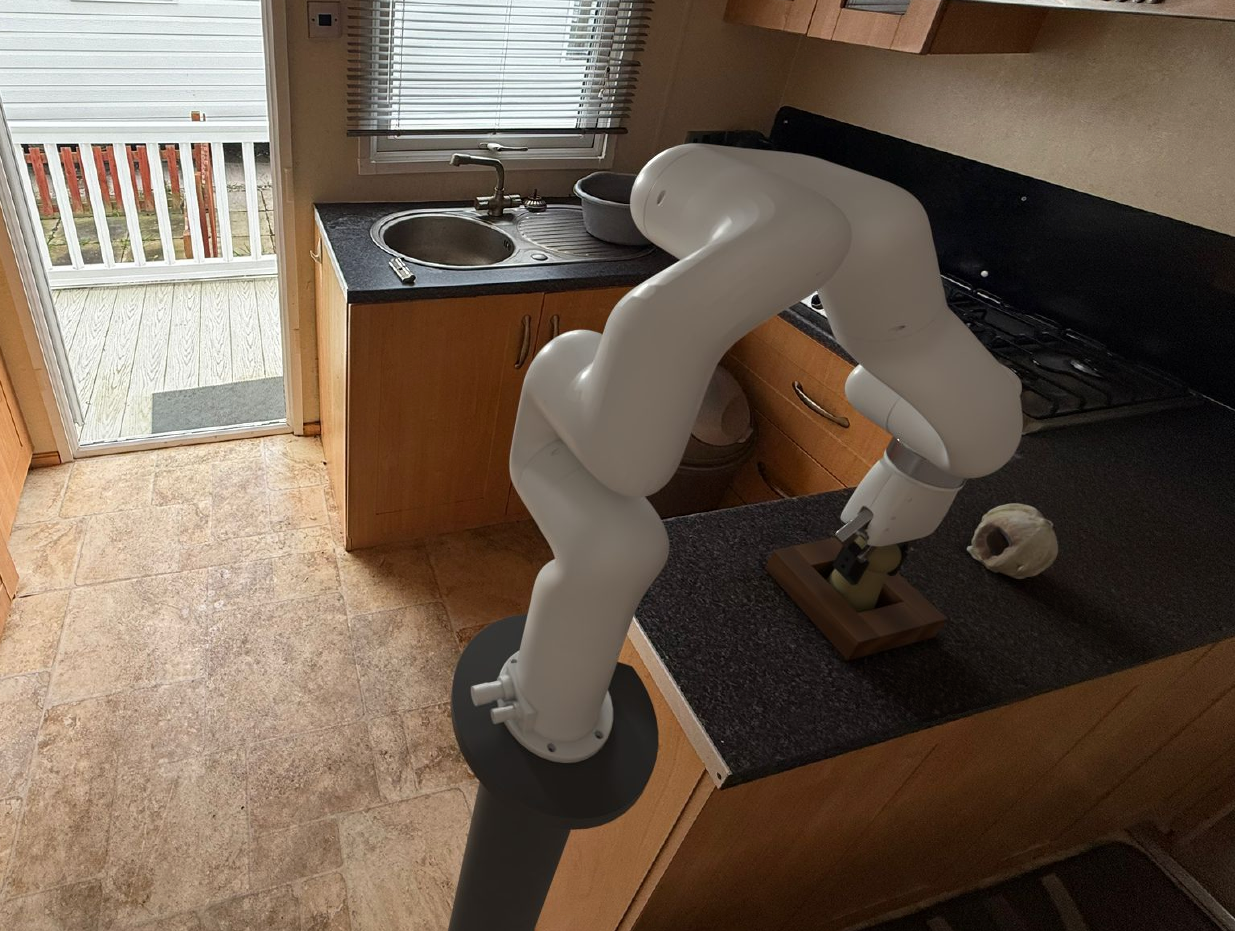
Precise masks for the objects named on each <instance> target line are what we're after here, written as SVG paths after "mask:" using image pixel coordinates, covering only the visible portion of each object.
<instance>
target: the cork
mask: <svg viewBox="0 0 1235 931" xmlns="http://www.w3.org/2000/svg"><path fill="white" fill-rule="evenodd" d="M866 531H867V529H866ZM855 542H856V543H857V544H858V545H859V546H860V547H861V549H863V548H864V547H865V546H866V545H867V542H866V541H865V540H864V539H863V538H862V537H861V536H859V537H858V538H857V539H856V541H855ZM900 560H901V552H900V549H899V547H898V545H897V544H891V545H886V546H879V547H877V548H876V550H875V551H874V552H873V553H872V554H871V555H870V557H869V558H868V559H867V561H868V562H869V565H868V567H867V568H866V570H865V572H864V574H863V575H862V577H861V579H860V580H859V582H858V584H856V585H851V584H850V583H849V582H848V581H847V580H846V579H845V578H844V577H843V576H842V575H841V574H840V573H839V572H838V571H837V570H836V569H834V571H833V572H832V573H831V574H830V575H829V576H828V578H825V580H826V581H827V582H828V583H829V584H830V585H831V586H832V587H833V588H834V589H835V590H836V591H837V592H838V593H839V594H840V596H841V597H842V598H843V599H844V600H845V601H846V602H847V603H848V604H849V605H850V606H851V607H852V608H853V609H854V610H855V611H856V612H857V613H861V612H865V611H869V610H873V609H876V606H877V604H876V602H877V600H878V597H879V594H880V591H881V588H882V586H883V583H884V580H885V577H886V574H887V572H891V571H892V570H894V569H895V568H896V567H897V566H898V565H899V563H900Z"/></svg>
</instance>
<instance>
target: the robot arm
mask: <svg viewBox="0 0 1235 931" xmlns="http://www.w3.org/2000/svg"><path fill="white" fill-rule="evenodd" d="M629 201H630V202H629V209H630V213H631V218H632V220H633V222H634V224H635V226H636V228H637V229H638V230H639V232H640V233H641V234H642V236H644V237H645V238H646V239H648V240H649V241H650V242H651V243H653V244H654V245H655V246H657V247H659V248H661V249H662V250H664V251H665V252H667V253H668V254H670V255H671V256H673V257H675V258H676V259H678V261H677V262H675V263H673V264H672V265H670V266H668V267H667V268H665V269H663V270H662V271H659V272H658V273H656V274H654V275H653V276H651V277H650V278H648V279H646V280H645V281H643V282H641V283H640V284H639V285H637V286H635V287H634V288H633V289H631V290H630V291H629V292H627V293H626V294H625V295H623V297H622V298H621V299H620V300H619V301H617V304H615V306H614V308H613V309H612V310H611V312H610V315H609V316H608V318H607V319H606V320H607V321H606V324H605V326H604V328H603V331H602V332H603V333H600V332H597V331H594V330H588V329H575V330H570V331H566V332H563V333H562V334H560V335H558V336H555V337H554V338H553V339H551V340H550V341H549V342H548V343H546V344H545V345H544V346H543V347H542V348H541V350H539V352H538V353H537V354H536V356H535V357H534V358H533V360H532V362H531V363H530V365H529V366H528V369H527V371H526V374H525V377H524V379H523V383H522V388H521V392H520V398H519V403H518V408H517V413H516V417H515V418H516V419H515V424H514V428H513V435H512V441H511V446H510V452H509V475H510V479H511V483H512V485H513V487H514V489H515V491H516V492H517V494H518V497H519V498H520V499H521V501H522V503H523V504H524V506H525V508H526V509H527V510H528V512H529V514H530V515H531V517H532V518H533V520H534V522H535V523H536V525H537V526H538V529H539V530H540V532H541V534H542V535H543V537H544V538H545V539H546V541H547V543H548V545H549V547H550V548H551V551H552V553H553V556H554V559H552V560H550V561H548V562H547V563H546V564H545V565H544V566H543V567H542V568H541V569H540V570H539V572H538V574H537V576H536V579H535V581H534V584H533V589H532V592H531V598H530V603H529V606H528V607H529V608H528V612H527V614H528V616H527V620H526V625H525V629H524V633H523V638H522V642H521V646H520V651H518V652H516V653H515V654H514V655H512V656H511V657H510V658H509V659H508V660H507V662H506V663H505V664H504V666H503V668H502V670H501V672H500V675H499V677H498V678H497V681H495V682H490V683H483V684H479V685H475V686H471V696H472V700H473V703H474V705H475V706H479V705H483V704H488V703H491V702H492V701H495V700H497V703H498V708H494V709H491V718H492V721H493V723H494V724H497V723H501V722H504V723H505V725H506V726H507V728H508V730H509V731H510V733H511V734H512V735H513V736H514V737H515V738H516V740H517V741H518V742H519V743H520V744H522V745H523V746H524V747H525V748H527V749H528V750H529V751H531V752H532V753H534V754H536V755H538V756H540V757H542V758H545V759H548V760H550V761H554V762H561V763H573V762H579V761H582V760H586V759H588V758H589V757H591V756H593V755H595V754H596V753H597V752H598V751H599V750H600V749H601V748H602V747H603V746H604V744H605V742H606V741H607V739H608V737H609V734H610V731H611V728H612V723H613V705H612V700H611V697H610V694H609V691H608V688H609V685H610V682H611V679H612V676H613V673H614V670H615V668H616V665H617V662H619V659H620V656H621V653H622V650H623V647H624V645H625V641H626V639H627V636H628V634H629V630H630V628H631V624H632V622H633V619H634V616H635V614H636V612H637V610H638V608H639V605H640V603H641V601H642V599H643V598H644V596H645V594H646V593H647V592H648V590H649V588H650V587H651V586H652V585H653V583H654V582H655V580H656V579H657V578H658V576H659V575H660V574H661V572H662V570H663V569H664V567H665V565H666V563H667V561H668V558H669V554H670V539H669V534H668V532H667V529H666V526H665V524H664V522H663V521H662V519H661V517H660V515H659V514H658V512H657V511H656V509H655V508H654V506H653V505H652V504H651V502H650V501H649V499H648V498H646V497H649V496H652V495H654V494H656V493H658V492H659V491H660V490H661V489H663V488H664V487H665V486H667V485H668V483H669V482H670V481H671V479H672V478H673V476H674V475H675V473H676V472H677V471H678V468H679V466H680V464H681V462H682V459H683V457H684V455H685V450H686V448H687V446H688V443H689V440H690V437H691V436H692V431H693V430H694V426H695V424H696V420H697V419H698V416H699V412H700V409H701V406H702V404H703V402H704V398H705V396H706V393H707V390H708V388H709V385H710V383H711V380H712V378H713V375H714V373H715V371H716V369H717V366H718V364H719V363H720V361H721V360H722V358H723V357H724V355H725V354H726V353H727V352H728V351H729V350H730V349H731V348H732V347H733V346H734V345H735V344H736V343H737V342H739V341H740V340H741V339H742V338H743V337H745V336H746V335H748V334H749V333H750V332H752V331H753V330H754V329H756V328H758V327H759V326H761V325H763V324H765V323H766V322H767V321H769V320H771V319H773V318H774V317H775V316H777V315H779V314H780V313H782V312H784V311H786V310H788V309H789V308H792V307H793V306H795V305H796V304H798V303H800V302H802V301H804V300H805V299H807V298H809V297H810V296H811V295H813V294H815V293H816V294H817V296H818V298H819V301H820V303H821V306H822V308H823V311H824V314H825V316H826V319H827V321H828V324H829V326H830V329H831V332H832V335H833V337H834V338H835V339H836V341H837V343H838V345H839V346H840V347H841V348H842V349H843V350H844V351H845V352H846V353H848V355H849V356H850V357H852V359H853V360H855V362H857V363H858V365H857V366H855V367H854V369H852V371H851V372H850V373H849V375H848V376H847V378H846V380H845V385H844V394H845V397H846V400H847V401H848V403H849V404H850V405H851V407H852V408H853V409H854V410H855V411H856V412H858V414H860V415H861V416H863V417H864V418H865V419H866V420H868V421H870V422H871V423H873V424H874V425H876V426H877V427H879V428H880V429H882V430H883V431H885V432H886V433H887V434H889V435H890V436H892V437H891V439H890V440H889V442H888V444H887V446H886V448H885V450H884V452H883V457H882V458H880V459H878V461H876V462H875V464H874V465H873V466H872V467H871V468H870V469H869V471H868V472H867V473H866V474H865V475H864V477H863V478H862V480H861V481H860V482H859V484H858V486H857V487H856V488H855V490H854V492H853V494H852V495H851V496H850V498H849V500H848V501H847V503H846V504H845V506H844V508H843V510H842V512H841V515H840V521H841V522H843V523H844V524H845V525H843V526H842V527H841V528H840V529H839V530H837V531H836V532H835V533H834V535H833V538H836V539H837V540H838V541H839V542H841V545H842V548H841V550H840V552H839V553H838V555H837V557H836V559H835V561H834V563H833V567H834V568H835V569H836V570H837V571H838V572H839V573H840V574H841V575H842V576H843V577H844V578H845V579H846V580H847V581H848V582H849V583H850V584H851V585H856V584H858V582H859V580H860V579H861V577H862V575H863V574H864V572H865V570H866V568H867V567H868V565H869V562H868V561H867V559H868V558H869V557H870V555H871V554H872V553H873V552H874V551H875V550H876V548H877V547H879V546H886V545H891V544H897V545H898V547H899V549H900V552H901V560H900V563H899V565H898V566H897V567H896V568H895V569H894V570H892V571H891V572H887V574H888V575H889V576H895V575H896V574H897V573H898V572H899V570H900V569H901V568H902V566H903V564H904V563H905V561H906V559H907V558H908V557H909V553H911V552H912V551H914V550H915V549H916V547H917V544H918V541H919V540H920V539H922V538H925V537H928V536H930V535H931V534H933V533H934V532H935V531H936V530H937V529H938V527H939V526H940V524H941V523H942V522H943V520H944V518H945V517H946V516H947V513H948V511H949V510H950V508H951V506H952V504H953V502H954V500H955V498H956V496H957V494H958V492H959V491H960V490H962V488H963V487H964V486H965V484H966V483H967V481H968V479H977V478H982V477H985V476H986V477H987V476H989V475H992V474H993V473H995V472H997V471H998V470H1000V469H1001V468H1003V467H1004V466H1005V465H1006V464H1007V463H1008V462H1009V461H1010V460H1011V459H1012V458H1013V456H1014V454H1015V453H1016V451H1018V450H1017V449H1018V448H1019V445H1020V443H1021V439H1022V436H1023V435H1022V434H1023V428H1024V421H1023V420H1024V418H1023V408H1022V400H1021V394H1022V391H1023V386H1022V381H1021V379H1020V377H1018V375H1017V374H1016V373H1015V372H1014V371H1013V370H1011V369H1010V368H1009V367H1007V366H1006V365H1004V364H1002V363H1000V362H999V361H998V360H997V359H996V358H995V357H994V356H993V354H992V353H991V352H990V351H989V350H988V349H987V348H986V346H984V344H983V343H982V342H981V341H980V340H979V339H978V337H976V335H975V334H974V333H973V332H972V330H970V328H969V327H968V326H967V325H966V324H965V323H964V322H963V321H962V319H960V317H958V316H957V314H955V313H954V312H953V310H951V309H950V308H949V306H948V302H947V298H946V293H945V288H944V284H943V280H942V276H941V272H940V266H939V261H938V256H937V251H936V247H935V243H934V238H933V233H932V228H931V225H930V221H929V216H928V214H927V211H926V210H925V208H924V206H923V204H922V203H921V202H920V201H919V200H918V199H917V198H916V197H915V196H914V195H913V194H912V193H910V191H907V189H904V188H903V187H901V186H898V185H896V184H895V183H892V182H890V181H887V180H884V179H881V178H879V177H876V176H872V175H871V174H867V173H864V172H861V171H858V170H855V169H852V168H849V167H846V166H843V165H840V164H837V163H835V162H831V161H828V160H825V159H823V158H820V157H817V156H811V155H807V154H806V155H805V154H803V153H796V152H795V153H793V152H787V151H776V150H766V149H756V148H744V147H737V146H736V147H735V146H726V145H718V144H709V143H685V144H680V145H675V146H673V147H671V148H667V149H665V150H664V151H661V152H660V153H658V154H656V156H654V157H653V158H652V159H651V160H649V161H648V162H647V163H646V164H645V165H644V166H643V168H642V169H641V170H640V172H639V173H638V175H637V176H636V178H635V181H634V183H633V185H632V188H631V193H630V198H629ZM866 530H867V531H866ZM859 536H861V537H862V538H863V539H864V540H865V541H866V542H867V545H866V546H865V547H864V548H863V549H861V547H860V546H859V545H858V544H857V543H856V542H855V541H856V539H857V538H858V537H859ZM597 737H598V738H599V739H598V738H597ZM549 750H550V751H552V752H550V751H549Z"/></svg>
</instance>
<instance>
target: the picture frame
mask: <svg viewBox="0 0 1235 931" xmlns="http://www.w3.org/2000/svg"><path fill="white" fill-rule="evenodd" d="M841 548H842V545H841V542H839V541H838V540H837V539H836V538H835V537H831V538H826V539H821V540H816V541H812V542H807V543H802V544H797V545H793V546H788V547H783V548H779V549H773V551H772V552H771V554H770V557H769V558H768V561H767V563H766V565H765V567H764V570H765V571H767V573H768V574H769V575H770V576H771V577H772V578H773V580H775V582H776V583H777V584H778V585H779V586H780V588H782V589H783V590H784V592H785V593H786V594H787V595H788V596H789V597H790V598H791V599H792V601H793V602H794V603H795V604H796V605H797V606H798V607H799V609H800V610H801V612H803V613H804V614H805V616H806V617H807V618H808V619H810V621H811V622H812V623H813V625H815V626H816V627H817V629H818V630H819V631H820V632H821V633H822V634H823V635H824V637H825V638H826V639H827V640H828V641H829V643H831V644H832V645H833V647H834V648H835V649H836V650H837V651H838V652H839V653H840V655H842V657H843V658H844V659H845V660H846V661H847V662H849V661H853V660H855V659H856V660H857V659H859V658H863V657H868V656H871V655H874V654H877V653H882V652H885V651H889V650H893V649H896V648H901V647H903V646H907V645H911V644H915V643H918V642H922V641H926V640H929V639H933V638H935V637H936V636H938V633H939V632H940V630H942V628H943V626H944V624H946V622H947V620H948V617H947V616H945V615H944V614H943V613H942V612H941V611H940V610H939V609H938V608H937V607H936V606H934V605H933V604H932V603H931V602H930V601H929V600H928V599H927V598H926V597H925V596H923V594H921V592H919V591H918V590H917V589H916V588H915V587H914V586H912V585H911V583H909V582H908V581H907V580H906V579H905V578H904V577H903V576H901V574H899V573H898V572H897V574H896V575H895V576H889V575H888V574H886V577H885V580H884V583H883V586H882V588H881V591H880V594H879V597H878V600H877V602H876V606H877V608H874V609H873V610H869V611H865V612H861V613H857V612H856V611H855V610H854V609H853V608H852V607H851V606H850V605H849V604H848V603H847V602H846V601H845V600H844V599H843V598H842V597H841V596H840V594H839V593H838V592H837V591H836V590H835V589H834V588H833V587H832V586H831V585H830V584H829V583H828V582H827V581H826V579H827V578H828V576H829V575H830V574H831V573H832V572H833V571H834V569H835V568H834V567H833V563H834V561H835V559H836V557H837V555H838V553H839V552H840V550H841Z"/></svg>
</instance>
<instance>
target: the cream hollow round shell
mask: <svg viewBox="0 0 1235 931" xmlns="http://www.w3.org/2000/svg"><path fill="white" fill-rule="evenodd" d="M1053 527H1054V523H1053V522H1052V521H1051V520H1048V519H1046V518H1045V517H1044V515H1043V513H1042V512H1041V511H1040V510H1038V509H1037V508H1036V507H1033V506H1031V505H1027V504H1023V503H1006V504H1002V505H997V506H995V507H994V508H992V509H990V510H988V511H987V512H986V513H985V514H984V515H983V516H982V517H981V521H980V523H979V524H978V525H977V528H976V529H975V530H974V535H973V537H972V539H971V545H970V546H969V545H968V546H967V548H966V551H967V552H968V553H969V554H970V555H971V557H972V558H973V559H975V560H977V561H978V562H980V563H981V564H982V565H983V566H984V567H986V569H987V570H989V571H991V572H993V573H995V574H996V573H1000V574H1003V575H1005V576H1008V577H1011V578H1013V579H1016V580H1024V579H1026V578H1027V577H1028V578H1030V577H1031V578H1032V577H1036V576H1037V575H1039V574H1040V573H1042V572H1044V571H1046V569H1048V568H1049V567H1051V565H1053V563H1054V562H1055V560H1056V559H1057V556H1058V554H1059V543H1058V539H1057V535H1056V533H1055V530H1053Z"/></svg>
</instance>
